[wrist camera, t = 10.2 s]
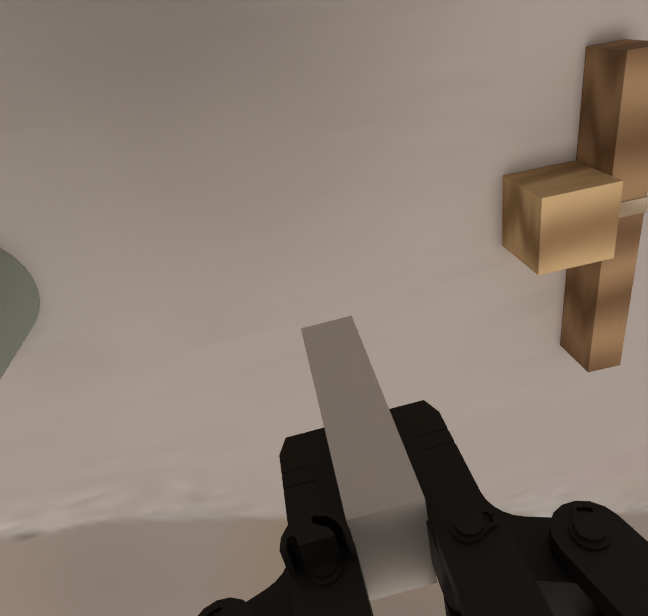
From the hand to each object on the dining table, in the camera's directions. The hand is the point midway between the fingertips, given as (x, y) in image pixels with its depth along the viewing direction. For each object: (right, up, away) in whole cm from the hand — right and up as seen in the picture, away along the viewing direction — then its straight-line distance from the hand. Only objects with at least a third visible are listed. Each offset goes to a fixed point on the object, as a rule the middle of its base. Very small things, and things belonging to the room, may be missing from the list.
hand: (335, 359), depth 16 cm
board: (+22, +9, +29) cm, 38 cm away
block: (+17, +10, +28) cm, 34 cm away
